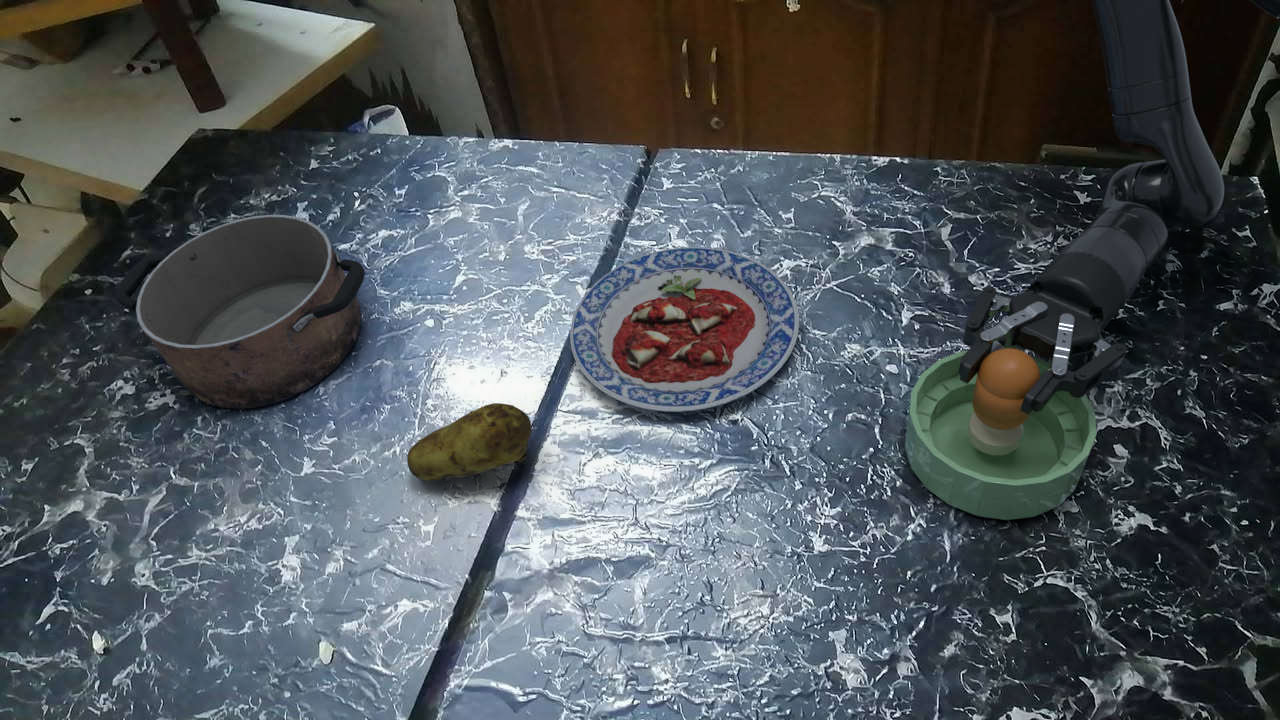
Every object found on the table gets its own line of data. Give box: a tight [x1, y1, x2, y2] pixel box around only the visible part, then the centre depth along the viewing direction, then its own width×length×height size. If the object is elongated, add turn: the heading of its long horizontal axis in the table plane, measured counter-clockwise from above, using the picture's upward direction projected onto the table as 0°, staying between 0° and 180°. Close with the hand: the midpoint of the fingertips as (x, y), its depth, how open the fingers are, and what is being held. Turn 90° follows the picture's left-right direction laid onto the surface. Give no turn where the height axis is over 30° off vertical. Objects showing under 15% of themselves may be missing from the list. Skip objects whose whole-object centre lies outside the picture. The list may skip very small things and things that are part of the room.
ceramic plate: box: [569, 246, 800, 413], centre depth 105 cm, size 26×26×3 cm
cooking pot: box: [114, 214, 366, 410], centre depth 110 cm, size 30×22×11 cm
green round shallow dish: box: [904, 349, 1098, 521], centre depth 88 cm, size 16×16×6 cm
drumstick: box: [967, 348, 1040, 455], centre depth 84 cm, size 5×5×11 cm
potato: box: [406, 402, 532, 482], centre depth 94 cm, size 8×13×8 cm, turn 75°
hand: (995, 390), depth 81 cm, fingers closed on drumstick, 5 cm apart
